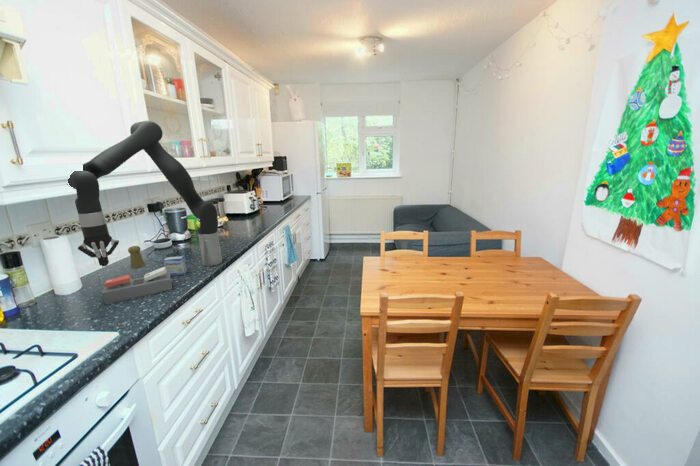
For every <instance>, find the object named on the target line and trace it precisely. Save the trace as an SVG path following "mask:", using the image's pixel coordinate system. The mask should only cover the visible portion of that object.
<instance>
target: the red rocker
mask: <svg viewBox="0 0 700 466" xmlns="http://www.w3.org/2000/svg"><path fill="white" fill-rule="evenodd" d="M130 280H132V276H131V274H126V275H122V276H118V277H113V278H109V279H106V280H105V282H104V288H105V287H110V286H114V285H118V284H122V283H126V282H130Z"/></svg>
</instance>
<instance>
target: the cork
mask: <svg viewBox="0 0 700 466" xmlns="http://www.w3.org/2000/svg"><path fill="white" fill-rule="evenodd" d="M127 251H128V253H129V255H130V258H129V259H130V268H131V269H140V268H143V267H145V262H144V259H143V256H142V254H141V247H140V246H139V245H132V246H130V247H129V248H128V249H127Z"/></svg>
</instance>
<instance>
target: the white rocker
mask: <svg viewBox="0 0 700 466" xmlns="http://www.w3.org/2000/svg"><path fill="white" fill-rule="evenodd" d="M165 273H166V268H165V266H162V267H160V268H157V269H155V270H152V271H150V272H147V273H146V274H144V276H143V277H144V279H145V280H146V281H148V280H151V279H153V278H155V277H158V276H160V275H162V274H165Z"/></svg>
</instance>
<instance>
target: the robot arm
mask: <svg viewBox="0 0 700 466" xmlns="http://www.w3.org/2000/svg"><path fill="white" fill-rule="evenodd" d="M129 132H130V135H129V136H127V137H126V138H124V139H123V140H121V141H120V142H117V143H115V144H113V145H112V146H110V147H108V148H107V149H104V150H103V151H102V152H100V153H98V154H97V155H95V156H94V157H93V158H92V159H90V160H89V161H87V162H85V163H82V165H83V171H74V172H73V173H72V174H71V175H70V178H69V179H68V183H69V185H70V186H71V187H73V188H72V189H74V190H75V191H76V199H75V200H74V203H75V207H76V211H77V215H78V217H77V218H78V223H79V226H80V229H81V232H82V236H83V241H82V244H80V245H78V247H77V250H79V251H80V252H82V253H84V254H85V255H87V256H88V257H90V258H96V259H97V261H98V264H99V266H101V267H107V266H108V264H109V262H110V261H109V257H108V256H111V255H112V254H113V252H114V251H115V250H116V249H117V246H118V245H119V243H120V240H119V239H113V237H112V236H111V235H110V232H109V229H108V223H107V220H106V217H105V214H104V211H103V209H102V205H101V201H100V184H99V180H98V179H100V178H101V177H105V176H107V175H109V174H111V173H113V172H114V171H115V170H117V169H118V168H119V167H120V166H122V165H123V164H124V163H126V162H127V161H128V160H130V158H131V157H134V156H135V155H136V154H138V153H139V152H140V151H144V152H145V153H146V154H147V156H149V157H150V158H151V160H152V162H153V163H154V164H155V165H156V167H157V168H158V169H159V170H160V172H161V174H162V175H163V176H164V177H165V179H166V180H167V181H168V183H169V184H170V185H171V186H172V188H174V190H175V192H177V193H178V195H180V197H181V198H182V199H183V201H184V202H185V204H186V206H187V207H188V208H189V211H190V212H191V214H192V215H193V216H194V217H195V218H196V219H199V227H198V228H197V235H198V241H199V247H200V253H201V260H202V265H203V266H204V267H205V266H206V267H213V265H214V266H218V265H219V264H222V263H223V256H222V249H221V246H220V245H221V244H220V240H219V239H220V238H219V233H218V227H219V220H218V218H219V217H218V210H217V207H216V206H215V205H214V204H213V203H212V202H206V201H205V200H204V199H203V198H202V197H201V196H200V195H199V194H198V192H197V191H196V189H195V186H194V182H193V179H192V177H191V175H190V173H189V172H188V171H187V169H186V168H185V167H184V165H182V163H181V162H179V160H177V159H176V158H175V157H174V156H173V155H171V154H170V153H168V151H166V150H165V149H164V147H163V146H162V145H161V143H160V141H161V140H162V138H163V129H162V128H161V126H160V125H159V124H158V123H157V122H154V121H152V120H143V121H138V122H135V123H133V124H132V125H131V126H130V130H129ZM70 186H69V187H70ZM71 187H70V188H71ZM110 244H111V247H110V248H109V250H107V249H108V248H107V247H108V246H109V245H110ZM89 248H90V249H89ZM92 250H93V251H94V252H93V251H92Z"/></svg>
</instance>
